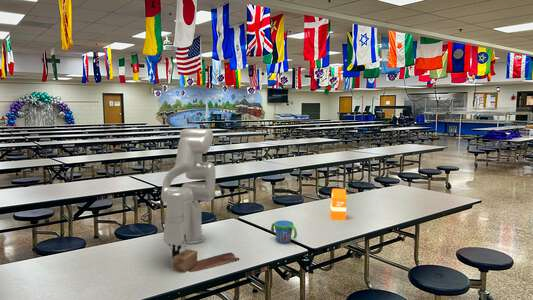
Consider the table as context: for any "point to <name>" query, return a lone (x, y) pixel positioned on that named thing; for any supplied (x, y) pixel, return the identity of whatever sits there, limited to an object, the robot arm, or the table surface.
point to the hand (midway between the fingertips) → (175, 257)
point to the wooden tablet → (213, 262)
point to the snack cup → (283, 230)
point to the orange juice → (338, 204)
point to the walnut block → (184, 260)
